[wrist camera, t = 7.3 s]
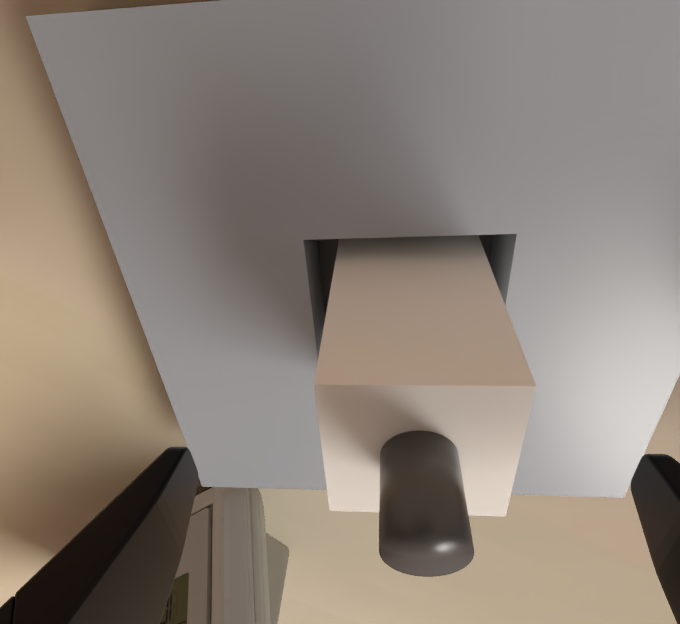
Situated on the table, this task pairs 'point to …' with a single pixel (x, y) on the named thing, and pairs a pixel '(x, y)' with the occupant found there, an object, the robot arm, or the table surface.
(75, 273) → the table surface
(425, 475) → the plug
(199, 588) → the digital clock
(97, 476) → the table surface
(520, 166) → the socket plate
